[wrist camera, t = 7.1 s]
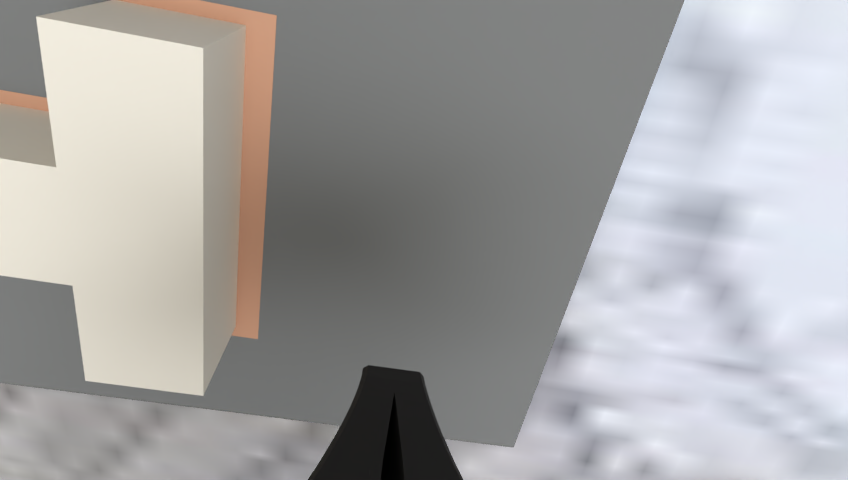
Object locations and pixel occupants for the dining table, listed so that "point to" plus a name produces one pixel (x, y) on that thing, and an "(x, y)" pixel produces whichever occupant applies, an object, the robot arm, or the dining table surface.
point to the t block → (132, 187)
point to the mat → (388, 198)
